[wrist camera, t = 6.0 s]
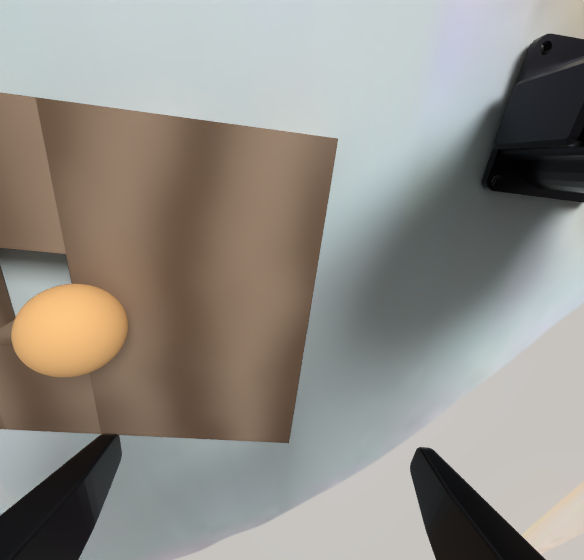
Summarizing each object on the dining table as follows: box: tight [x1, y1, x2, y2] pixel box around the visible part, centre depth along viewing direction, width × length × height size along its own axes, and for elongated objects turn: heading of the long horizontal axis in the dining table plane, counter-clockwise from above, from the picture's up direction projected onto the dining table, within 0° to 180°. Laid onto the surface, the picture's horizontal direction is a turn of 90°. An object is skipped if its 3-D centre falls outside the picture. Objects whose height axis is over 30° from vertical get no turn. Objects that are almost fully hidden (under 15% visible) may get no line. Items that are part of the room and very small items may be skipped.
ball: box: [11, 284, 128, 377], centre depth 12 cm, size 4×4×4 cm
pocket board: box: [0, 93, 338, 443], centre depth 15 cm, size 21×18×2 cm
